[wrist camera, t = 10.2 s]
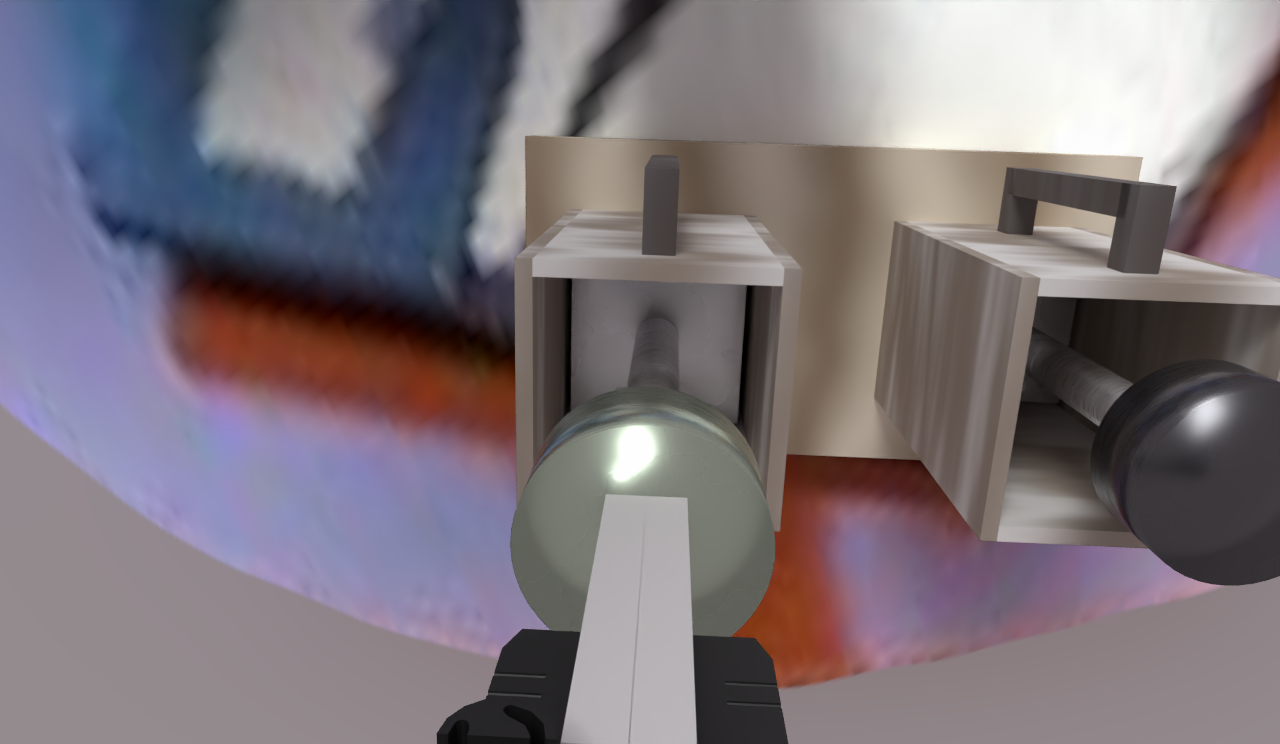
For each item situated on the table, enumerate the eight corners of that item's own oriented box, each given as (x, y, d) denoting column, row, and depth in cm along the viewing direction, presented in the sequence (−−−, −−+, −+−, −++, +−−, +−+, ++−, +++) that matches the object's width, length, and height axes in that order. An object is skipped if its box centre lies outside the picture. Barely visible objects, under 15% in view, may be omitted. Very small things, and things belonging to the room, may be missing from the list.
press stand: (533, 428, 42) (454, 603, 27) (532, 135, 38) (439, 144, 23) (1063, 451, 42) (1293, 643, 26) (1118, 155, 38) (1426, 178, 22)
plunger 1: (573, 409, 34) (477, 687, 17) (574, 246, 32) (469, 381, 15) (735, 416, 33) (798, 703, 17) (746, 253, 32) (828, 396, 15)
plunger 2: (902, 391, 37) (1085, 604, 21) (920, 244, 35) (1136, 351, 19) (1050, 397, 37) (1352, 617, 21) (1076, 250, 35) (1430, 363, 19)
